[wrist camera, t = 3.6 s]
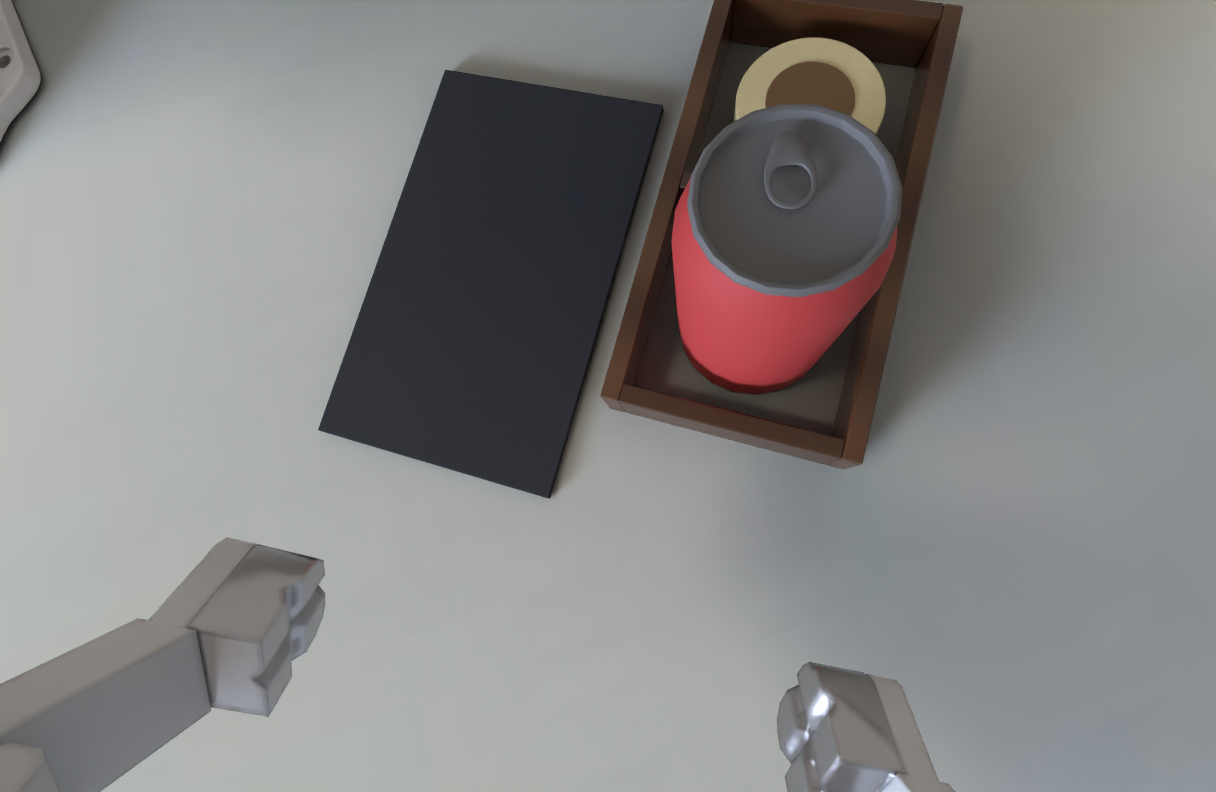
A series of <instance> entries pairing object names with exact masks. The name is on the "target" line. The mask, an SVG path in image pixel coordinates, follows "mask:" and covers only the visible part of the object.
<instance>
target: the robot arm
mask: <svg viewBox="0 0 1216 792" xmlns="http://www.w3.org/2000/svg"><path fill="white" fill-rule="evenodd" d="M40 81H41V75H40V71H39V69H38V66H37V64H36V61H35V59H34V56H33V54H32V51H31V49H30V46H29V44H28V41H27V38H26V36H25V33H24V31H23V28H22V26H21V23H20V21H19V18H18V16H17V13H16V11H15V8H14V6H13V3H12V1H11V0H0V142H1V140H2V138H3V136H4V133H5V132H6V130H7V128H8V126H9V124H10V123H11V121H12V120H13V119H14V118H15V117H16V116H17V115H18V114H19V112H20V111H21V110H22V109H23V108H24V107H25V106H26V105H27V103H28V102H29V101H30V100H31V98H32V97H33V96H34V94H35V93H36V91H37V90H38V88H39V85H40ZM324 575H325V571H324V560H321V559H317V558H313V557H309V556H305V555H301V554H296V553H292V552H288V551H284V550H280V549H276V548H271V547H267V546H263V545H259V544H254V543H250V542H245V541H241V540H236V539H232V538H226V539H224V540H222V541H221V542H219V543H217V544H216V545H215V546H214V547H213V548H212V549H211V550H210V551H209V553H208V554H207V555H206V556H205V557H204V558H203V559H202V560H201V561H200V563H199V564H198V565H197V566H196V567H195V568H194V569H193V570H192V572H191V573H190V574H189V575H188V576H187V577H186V578H185V579H184V581H183V582H182V583H181V584H180V585H179V586H178V587H177V588H176V590H175V591H174V592H173V593H172V594H171V595H170V596H169V597H168V598H167V600H166V601H165V602H164V603H163V604H162V605H161V606H160V607H159V609H158V610H157V611H156V612H155V613H154V614H153V615H152V616H151V618H150V619H149V620H145V619H139V618H138V619H136V620H134V621H131V622H129V623H127V624H125V625H123V626H121V627H119V628H117V629H115V630H113V631H110V632H108V633H106V634H104V635H102V636H100V637H98V638H96V639H94V640H92V641H90V642H87V643H85V644H83V645H81V646H79V647H77V648H75V649H73V650H71V651H69V652H66V653H64V654H62V655H60V656H58V657H56V658H54V659H52V660H50V661H48V662H46V663H43V664H41V665H39V666H37V667H35V668H33V669H31V670H29V671H27V672H25V673H22V674H20V675H18V676H16V677H14V678H12V679H10V680H8V681H6V682H4V683H2V684H0V792H100V791H102V790H103V789H104V788H106V787H107V786H109V785H110V784H111V783H113V782H114V781H115V780H117V779H118V778H120V777H121V776H122V775H124V774H125V773H126V772H128V771H129V770H131V769H132V768H133V767H135V766H136V765H137V764H139V763H140V762H142V761H143V760H144V759H146V758H147V757H148V756H150V755H151V754H153V753H154V752H155V751H157V750H158V749H159V748H161V747H162V746H163V745H165V744H166V743H168V742H169V741H170V740H172V739H173V738H174V737H176V736H177V735H179V734H180V733H181V732H183V731H184V730H185V729H187V728H188V727H190V726H191V725H192V724H194V723H195V722H196V721H198V720H199V719H201V718H202V717H203V716H205V715H206V714H207V713H209V712H210V711H211V707H213V708H219V709H225V710H231V711H237V712H243V713H249V714H255V715H261V716H267V717H269V715H270V714H271V712H272V710H273V709H274V707H275V705H276V704H277V702H278V700H279V698H280V697H281V695H282V693H283V692H284V690H285V688H286V686H287V685H288V683H289V681H290V680H291V678H292V667H291V661H292V660H294V659H295V658H297V657H299V656H300V655H302V654H304V653H305V652H307V650H308V648H309V647H310V645H311V643H312V641H313V639H314V638H315V636H316V633H317V631H318V628H319V626H320V623H321V620H322V618H323V613H324V607H325V593H324V591H323V590H322V589H321V588H320V587H319V583H320V581H321V580H322V578H323V577H324ZM797 677H798V682H799V685H797V686H795V687H793V688H791V689H789V690H787V691H786V693H785V695H784V696H783V698H782V700H781V702H780V706H779V711H778V717H777V733H778V740H779V746H780V749H781V750H782V752H783V753H784V755H785V756H786V757H787V759H788V760H789V761H790V763H791V766H790V768H789V769H788V771H787V773H786V775H785V780H786V786H787V791H788V792H955V791H954V790H953V789H952V788H951V786H950V785H949V784H947V783H943V782H939V780H938V777H937V775H936V772H935V770H934V767H933V764H932V762H931V759H930V757H929V754H928V752H927V749H926V747H925V744H924V741H923V739H922V736H921V734H920V731H919V729H918V726H917V723H916V721H915V718H914V716H913V713H912V711H911V708H910V706H909V703H908V700H907V698H906V695H905V693H904V690H903V688H902V686H901V685H900V684H899V683H898V682H897V680H893V679H888V678H883V677H879V676H874V675H869V674H864V673H863V672H858V671H853V670H848V669H843V668H837V667H832V666H827V665H822V664H817V663H812V662H808V663H806V664H804V665H803V666H802V667H801V669H800V670H799V672H798V673H797Z"/></svg>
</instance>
